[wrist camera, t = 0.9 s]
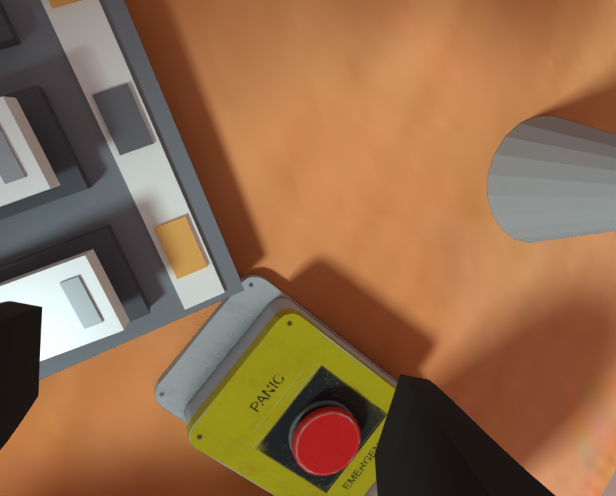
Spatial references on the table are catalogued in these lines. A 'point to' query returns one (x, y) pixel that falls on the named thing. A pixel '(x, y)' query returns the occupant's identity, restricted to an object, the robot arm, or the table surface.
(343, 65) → the table surface
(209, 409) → the emergency button
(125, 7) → the panel
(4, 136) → the rocker
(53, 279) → the rocker
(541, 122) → the lava lamp
